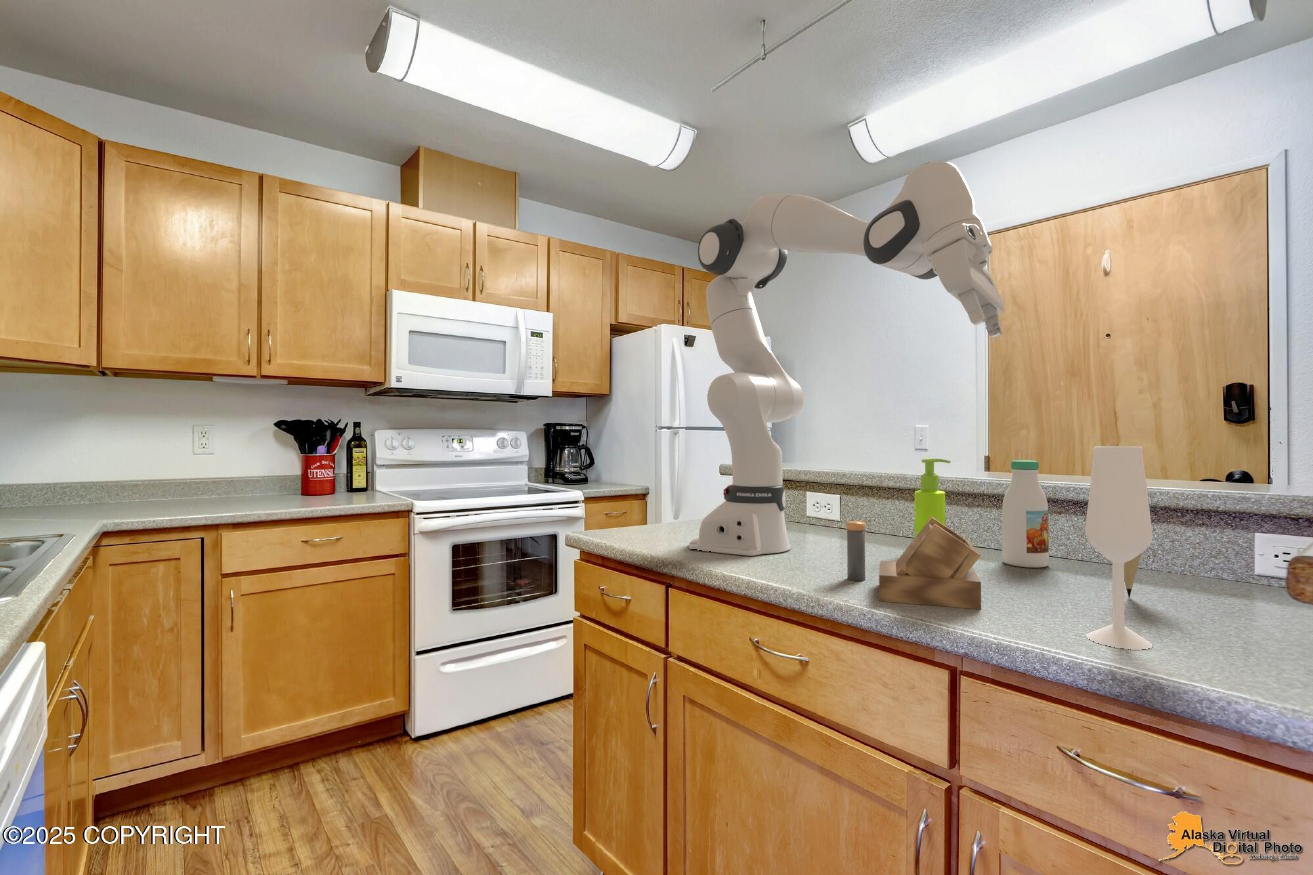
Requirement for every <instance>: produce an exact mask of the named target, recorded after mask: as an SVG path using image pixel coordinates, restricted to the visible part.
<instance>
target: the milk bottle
mask: <svg viewBox="0 0 1313 875" xmlns="http://www.w3.org/2000/svg"><path fill="white" fill-rule="evenodd" d="M1010 468H1011V470H1010V472H1011V473H1012V477H1011V480H1010V484H1009V485H1008V488H1007V490H1006V491H1005V493H1004V496H1003V500H1002V512H1001V517H1002V518H1001V522H1002V523H1001V532H1002V533H1001V542H1002V543H1001V547H1002V554H1001V556H1002V562H1003V563H1004V564H1006V565H1009V566H1015V567H1019V568H1020V567H1021V568H1022V567H1023V568H1031V569H1032V568H1045V567H1048V565H1049V563H1050V543H1049V542H1050V540H1049V539H1050V537H1049V536H1050V534H1049V532H1050V531H1049V530H1050V528H1049V521H1050V520H1049V519H1050V518H1049V505H1048V504H1049V503H1048V500H1047V496H1046V494H1045V492H1044V490H1043V488H1042V487H1041V484H1040V481H1039V478H1038V473H1039V468H1040V467H1039V461H1038V460H1028V459H1026V460H1024V459H1021V460H1020V459H1019V460H1018V459H1017V460H1016V459H1015V460H1011V462H1010Z"/></svg>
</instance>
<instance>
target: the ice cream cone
mask: <svg viewBox="0 0 1313 875" xmlns="http://www.w3.org/2000/svg"><path fill="white" fill-rule="evenodd" d="M1151 526H1152V527H1153V525H1152V524H1151ZM1141 556H1142V553H1141V554H1139V555H1138V556H1136V557H1135V558H1133V559H1132V560H1130V561H1128V562H1125V563H1124V586H1125V588H1126V592H1127V597H1128V599H1131V598H1130V597H1131V594H1132V590H1133V586H1134V582H1135V578H1136V574H1137V571H1138V567H1139V563H1140V559H1141Z"/></svg>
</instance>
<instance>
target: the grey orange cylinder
mask: <svg viewBox="0 0 1313 875" xmlns="http://www.w3.org/2000/svg"><path fill="white" fill-rule="evenodd" d="M846 530H847V531H846V547H847V548H846V550H847V552H846V556H847V557H846V559H847V560H846V561H847V562H846V564H847V565H846V566H847V567H846V568H847V570H846V572H847V573H846V574H847V578H846V579H847V580H848V581H854V582H864V581H866V532H865V531H866V522H865V521H858V520H856V521H854V520H852V521H846Z"/></svg>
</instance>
